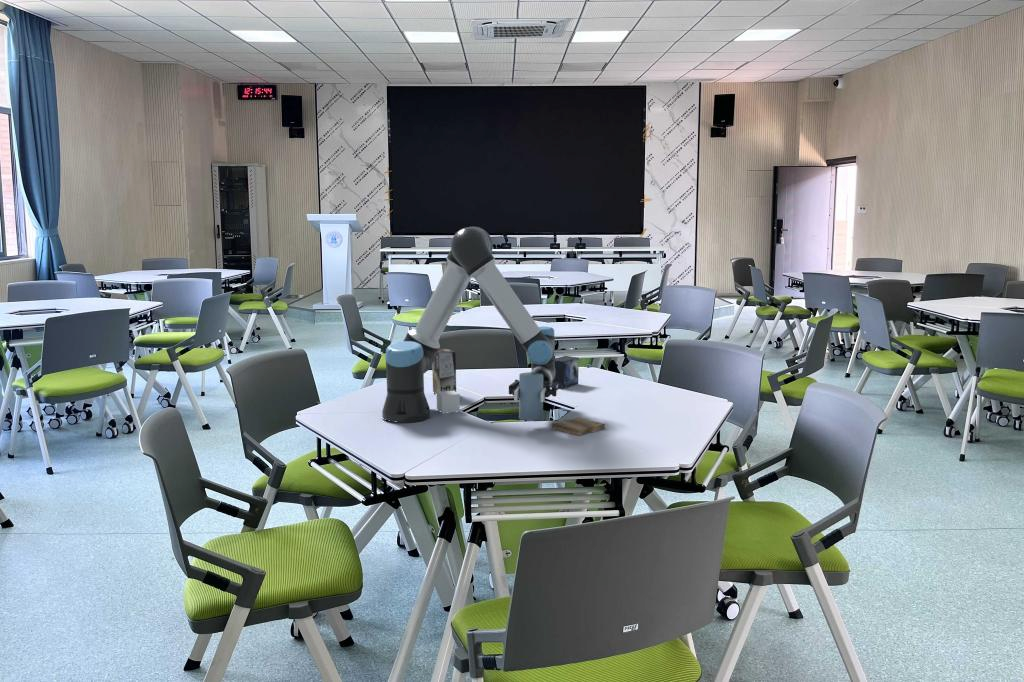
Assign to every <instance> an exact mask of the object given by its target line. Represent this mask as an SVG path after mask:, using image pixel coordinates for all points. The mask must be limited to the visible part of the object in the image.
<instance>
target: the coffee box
mask: <svg viewBox="0 0 1024 682" xmlns="http://www.w3.org/2000/svg"><path fill="white" fill-rule="evenodd" d="M456 358H457V355H456V351H454V350H452V349H449V348H439V350H438V352H437V354H436V356H435V357H434V362H433V364H432V366H431V368H432V369H431V370H432V371H431V372H432V393H433V392H434V393H435V394H437V393H436V392H444V391H455V392H457V364H456V361H457V359H456ZM435 394H434V395H435Z"/></svg>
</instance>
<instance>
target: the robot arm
mask: <svg viewBox="0 0 1024 682" xmlns="http://www.w3.org/2000/svg"><path fill="white" fill-rule="evenodd" d="M493 245H494V244H493V240H492V237H491V235H490V234H489V232H487V231H486V230H484V228H481V227H479V226H469V227H468V226H467V227H464V228H461V229H459V230H458V231H456V233H455V234H454V235H453V237H452V239H451V242H450V250H449V252H448V254H447V255H446V256H447V257H446V263H447V266H446V268H445V270H444V272H443V274H442V276H441V278H440V280H439V282H438V284H437V285H436V288H435V290H434V292H433V293H432V295H431V296H430V297H431V298H429V301H428V303H427V305H426V307H425V309H424V311H423V312H422V314H421V316H420V318H419V319H418V322H417V324H416V325H415V327H414V328H413V329H409V330H408V331H407V333H406V335H405V337H404V338H403V340H402V341H397V342H395V343H391V344H389V345H388V346H387V347H386V349H385V357H384V359H385V369H386V370H385V372H386V374H385V375H386V376H385V377H386V397H385V400H384V404H383V409H382V411H381V413H382V414H381V416H382V417H383V418H384V419H386V420H390V421H397V422H407V423H415V422H414V421H417V422H421V420H422V421H426V420H427V418H428V419H429V418H430V417H431V407H430V405H429V403H428V400H427V397H426V394H425V382H424V381H425V379H424V374H425V373H427V372H429V370H430V369H431V368H432V364H433V362H434V357H435V356H436V354H437V352H438V350H439V349H441V348H440V347H441V344H440V342H439V340H440V337H441V336H442V335H443V332H444V330H445V329H446V326H447V325H448V323H449V322H450V319H451V317H452V315H453V313H454V311H455V310H456V307H457V305H458V304H459V302H460V300H461V298H462V296H463V294H464V292H465V291H466V288H467V286H468V285H469V283H470V281H471V279H474V280H475V281H476V283H477V284H478V285H479V287H480V288H481V289H482V291H483V293H484V294H485V296H486V297H487V298H488V299H489V301H490V302H491V303H492V305H493V306H494V308H495V309H496V311H497V312H498V313H499V314H500V316H501V317H502V319H503V320H504V322H505V323H506V325H507V326H508V328H509V329H510V331H512V333H513V335H514V336H515V337H516V339H517V340H518V342H519V343H520V344H521V346H522V348H524V350H525V352H526V354H527V357H528V359H529V361H530V363H531V370H530V372H533V373H541V374H543V390H542V391H541V402H543V403H544V401H545V399H546V398H549V397H551V396H552V397H557V391H558V390H559V388H558V382H557V381H556V382H553V380H554V378H555V376H556V370H555V361H554V358H555V344H556V343H555V340H556V337H555V336H556V335H555V329H554V328H553V327H551V326H539V325H538V324H537V323H536V321H535V320H534V318H533V317H532V315H531V314H530V313H529V311H528V310H527V308H526V307H525V306H524V304H523V303H522V301H521V300H520V298H519V297H518V295H517V294H516V292H515V291H514V290H513V288H512V287H511V286H510V284H509V283H508V281H507V280H506V278H505V277H504V276H503V274H502V273H501V271H500V270H499V269H498V267H497V266H496V263H495V262H496V258H495V257H494V255H493V254H492V252H493V249H494V248H493V247H494V246H493ZM551 383H552V384H551ZM508 395H512V396H513V398H514V399H513V400H514V401H515V402H516V401H519V379H514V382H512V383H510V384H509V385H508ZM383 418H382V419H383ZM384 419H383V420H384ZM386 420H385V421H386ZM397 422H396V423H397Z"/></svg>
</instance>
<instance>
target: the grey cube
mask: <svg viewBox="0 0 1024 682" xmlns="http://www.w3.org/2000/svg"><path fill="white" fill-rule="evenodd" d="M436 393H437V396H436V410H437V409H438V410H439V411H441V412H442V413H444V414H448V413H447V412H454V413H457V412H456V411H460V412H461V404H460V402H461V401H460V399H461V398H460V395H461V394H460V393H459V392H457V391H456V392H455V391H444V392H436ZM438 410H437V411H438ZM439 411H438V412H439ZM441 412H440V413H441ZM442 413H441V414H442Z"/></svg>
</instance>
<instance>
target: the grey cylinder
mask: <svg viewBox="0 0 1024 682" xmlns="http://www.w3.org/2000/svg"><path fill="white" fill-rule="evenodd" d="M518 377H519V379H518V380H519V398H518V419H519V420H521V421H527V422H535V421H541V420H543V419H544V418H543V416H544V401H543V402H541V391H542V390H543V374H541V373H533V372H531V371H530V372H521V373H519V376H518Z"/></svg>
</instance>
